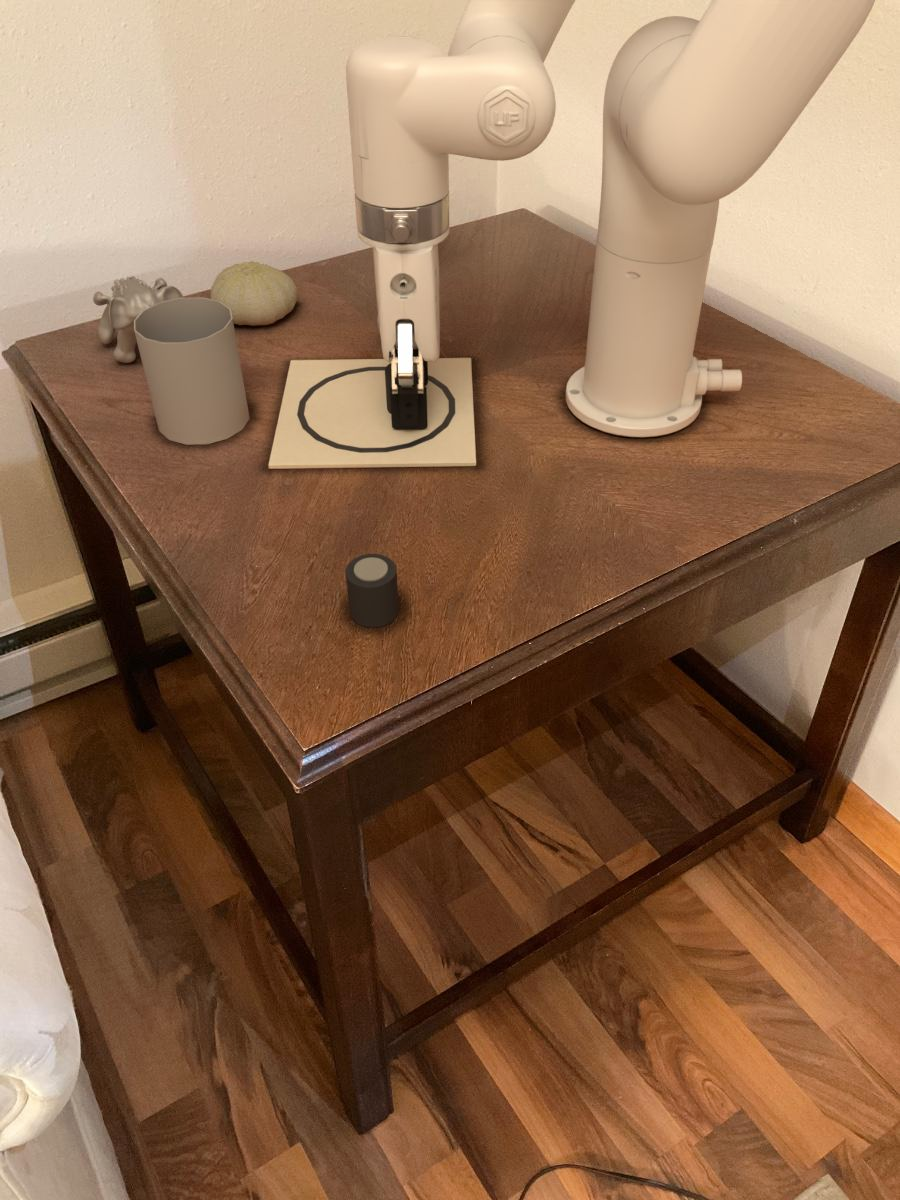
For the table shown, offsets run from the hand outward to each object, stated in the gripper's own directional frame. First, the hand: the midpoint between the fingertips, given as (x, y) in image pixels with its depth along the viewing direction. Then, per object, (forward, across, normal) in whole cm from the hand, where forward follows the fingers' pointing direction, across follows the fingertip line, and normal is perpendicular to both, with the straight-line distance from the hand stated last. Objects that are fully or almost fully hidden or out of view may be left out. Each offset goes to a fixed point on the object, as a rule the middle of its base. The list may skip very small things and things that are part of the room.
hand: (410, 404), depth 92 cm
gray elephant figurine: (+1, +11, +26) cm, 28 cm away
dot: (+1, -27, +2) cm, 27 cm away
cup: (+1, -1, +19) cm, 19 cm away
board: (+1, 0, +3) cm, 3 cm away
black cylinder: (0, 0, 0) cm, 1 cm away
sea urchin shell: (+1, +20, +17) cm, 26 cm away
